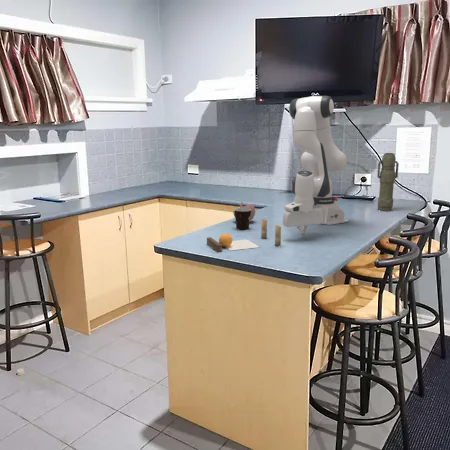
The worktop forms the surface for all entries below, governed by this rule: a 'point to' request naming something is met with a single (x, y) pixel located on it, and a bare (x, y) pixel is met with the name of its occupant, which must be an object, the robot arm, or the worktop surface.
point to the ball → (225, 240)
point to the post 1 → (264, 229)
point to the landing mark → (241, 245)
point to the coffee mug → (242, 218)
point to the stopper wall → (214, 244)
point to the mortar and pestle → (248, 208)
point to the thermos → (387, 181)
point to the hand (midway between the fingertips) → (302, 234)
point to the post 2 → (277, 235)
